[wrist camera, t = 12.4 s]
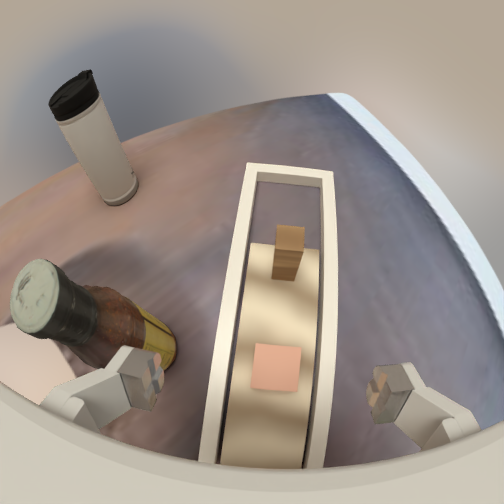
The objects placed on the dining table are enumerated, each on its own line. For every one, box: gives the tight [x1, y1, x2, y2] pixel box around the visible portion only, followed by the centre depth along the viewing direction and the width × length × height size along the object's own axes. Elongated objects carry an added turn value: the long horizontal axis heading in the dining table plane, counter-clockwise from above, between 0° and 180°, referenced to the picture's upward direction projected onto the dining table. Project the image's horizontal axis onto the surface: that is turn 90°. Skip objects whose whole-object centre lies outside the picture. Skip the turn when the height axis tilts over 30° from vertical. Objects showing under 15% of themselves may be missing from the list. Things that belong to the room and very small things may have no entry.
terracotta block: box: [250, 343, 302, 392], centre depth 24 cm, size 4×4×4 cm
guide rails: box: [198, 163, 338, 469], centre depth 30 cm, size 38×12×2 cm, turn 173°
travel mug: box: [49, 70, 138, 206], centre depth 30 cm, size 6×7×20 cm
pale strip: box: [220, 225, 319, 469], centre depth 23 cm, size 26×8×8 cm, turn 173°
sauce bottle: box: [10, 259, 177, 371], centre depth 19 cm, size 6×6×20 cm
